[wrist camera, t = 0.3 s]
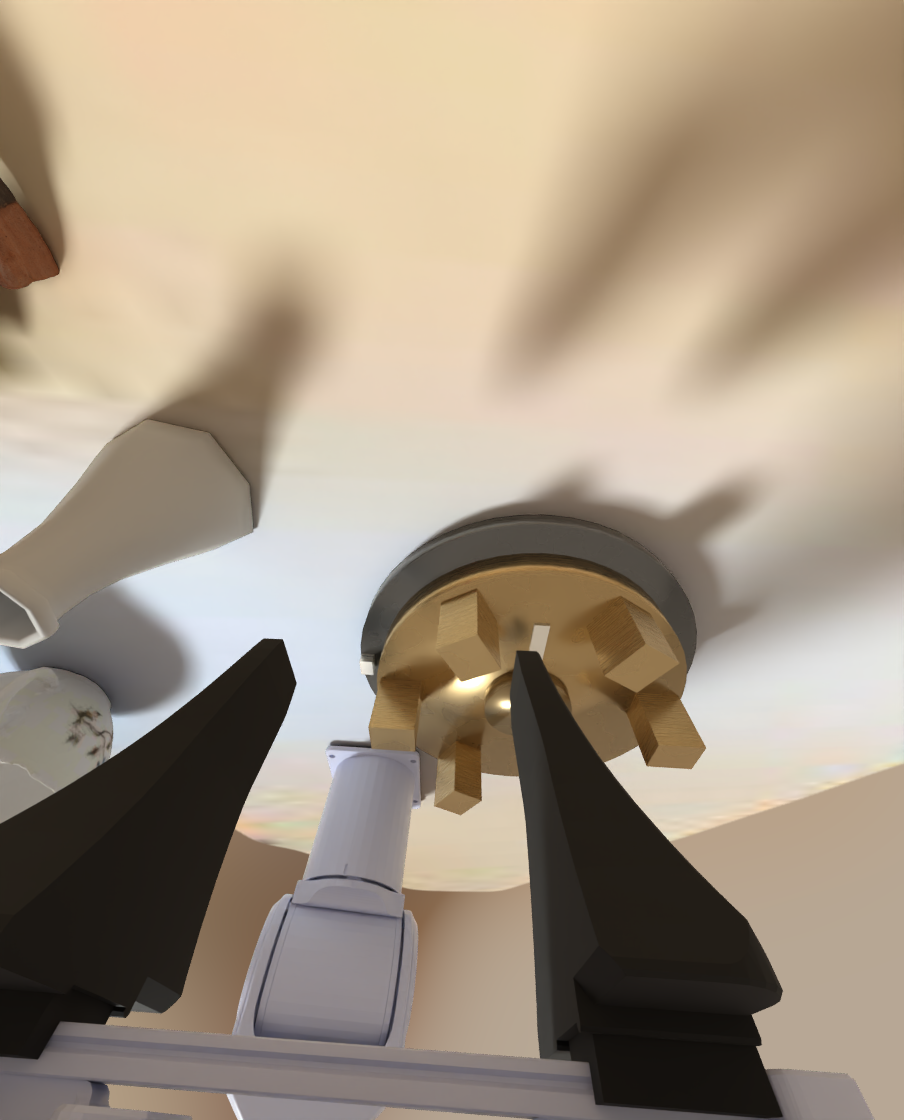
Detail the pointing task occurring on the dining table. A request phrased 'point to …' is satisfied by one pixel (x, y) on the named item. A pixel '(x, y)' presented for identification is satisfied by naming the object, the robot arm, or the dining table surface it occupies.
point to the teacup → (48, 734)
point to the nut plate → (517, 539)
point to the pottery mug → (21, 246)
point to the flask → (122, 525)
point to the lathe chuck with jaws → (566, 650)
